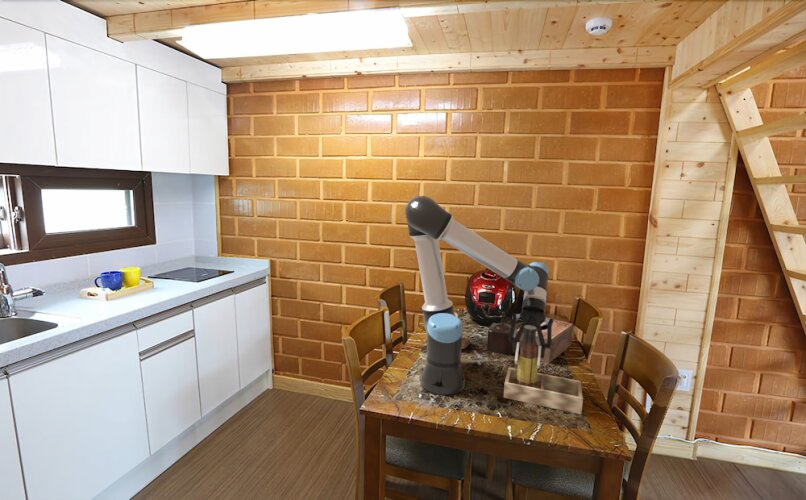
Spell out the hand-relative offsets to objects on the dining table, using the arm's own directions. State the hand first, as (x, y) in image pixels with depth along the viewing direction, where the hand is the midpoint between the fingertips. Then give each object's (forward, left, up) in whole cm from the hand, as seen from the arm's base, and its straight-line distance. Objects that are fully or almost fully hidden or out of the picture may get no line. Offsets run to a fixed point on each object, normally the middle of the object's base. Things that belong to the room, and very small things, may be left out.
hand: (526, 364), depth 120 cm
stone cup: (+2, +44, -12) cm, 46 cm away
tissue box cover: (+37, +25, -12) cm, 47 cm away
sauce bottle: (+3, +2, -9) cm, 9 cm away
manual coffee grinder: (+19, +35, -12) cm, 42 cm away
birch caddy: (+6, -2, -12) cm, 13 cm away
